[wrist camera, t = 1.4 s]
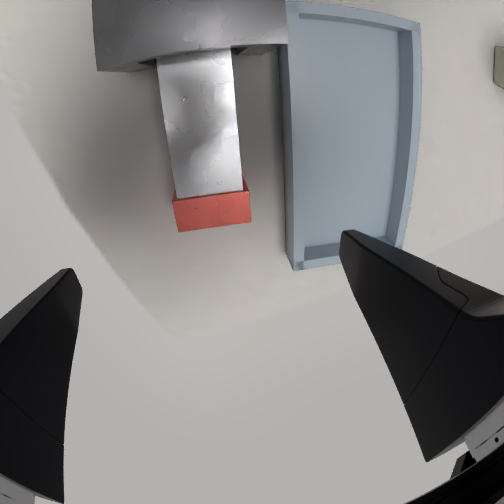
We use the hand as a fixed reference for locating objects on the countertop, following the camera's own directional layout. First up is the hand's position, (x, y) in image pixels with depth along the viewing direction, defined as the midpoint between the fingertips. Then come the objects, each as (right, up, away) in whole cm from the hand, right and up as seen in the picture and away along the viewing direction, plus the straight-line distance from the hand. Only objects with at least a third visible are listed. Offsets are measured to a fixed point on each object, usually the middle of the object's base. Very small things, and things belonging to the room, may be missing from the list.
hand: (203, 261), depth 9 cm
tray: (+8, +9, +10) cm, 16 cm away
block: (-2, +15, +4) cm, 16 cm away
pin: (-2, +10, +8) cm, 13 cm away
